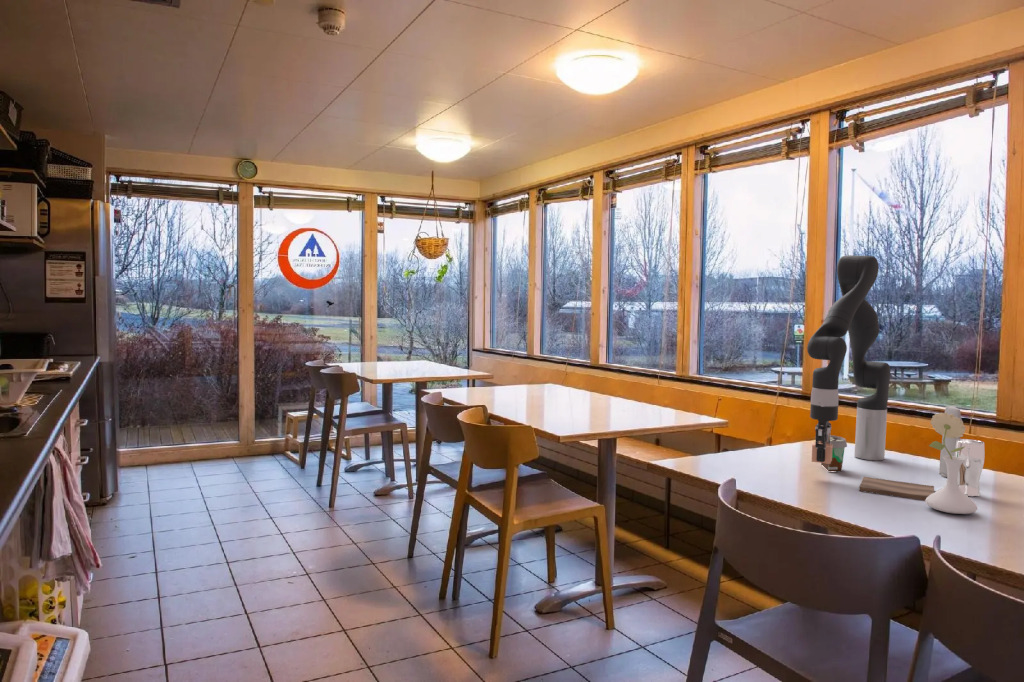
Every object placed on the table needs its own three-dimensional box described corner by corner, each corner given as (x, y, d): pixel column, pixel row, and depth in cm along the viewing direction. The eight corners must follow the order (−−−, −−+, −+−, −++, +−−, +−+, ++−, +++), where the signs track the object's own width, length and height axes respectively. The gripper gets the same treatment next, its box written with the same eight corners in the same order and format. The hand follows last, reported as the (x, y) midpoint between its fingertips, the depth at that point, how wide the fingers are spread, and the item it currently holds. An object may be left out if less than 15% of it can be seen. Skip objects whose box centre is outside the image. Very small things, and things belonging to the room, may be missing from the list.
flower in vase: (988, 516, 175) (994, 417, 174) (952, 519, 172) (959, 418, 170) (942, 501, 187) (948, 409, 186) (908, 504, 184) (914, 410, 183)
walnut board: (863, 480, 208) (863, 476, 208) (933, 490, 199) (934, 486, 199) (859, 491, 196) (859, 486, 196) (933, 501, 187) (934, 497, 187)
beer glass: (946, 491, 198) (949, 439, 197) (963, 489, 200) (966, 438, 200) (971, 498, 191) (974, 444, 190) (987, 496, 194) (991, 442, 193)
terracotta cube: (814, 458, 212) (814, 442, 212) (832, 460, 210) (832, 444, 209) (811, 461, 208) (812, 445, 208) (829, 463, 205) (830, 447, 205)
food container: (850, 474, 216) (852, 442, 215) (829, 473, 217) (830, 441, 216) (840, 465, 228) (841, 435, 227) (820, 464, 229) (821, 434, 228)
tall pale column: (964, 481, 210) (969, 409, 209) (950, 480, 211) (954, 408, 210) (947, 472, 221) (951, 403, 220) (933, 472, 221) (937, 403, 220)
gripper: (814, 399, 216) (811, 453, 217) (807, 405, 203) (804, 462, 205) (841, 401, 212) (838, 456, 213) (835, 407, 200) (832, 466, 201)
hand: (821, 459), depth 209 cm, fingers closed on terracotta cube, 5 cm apart
